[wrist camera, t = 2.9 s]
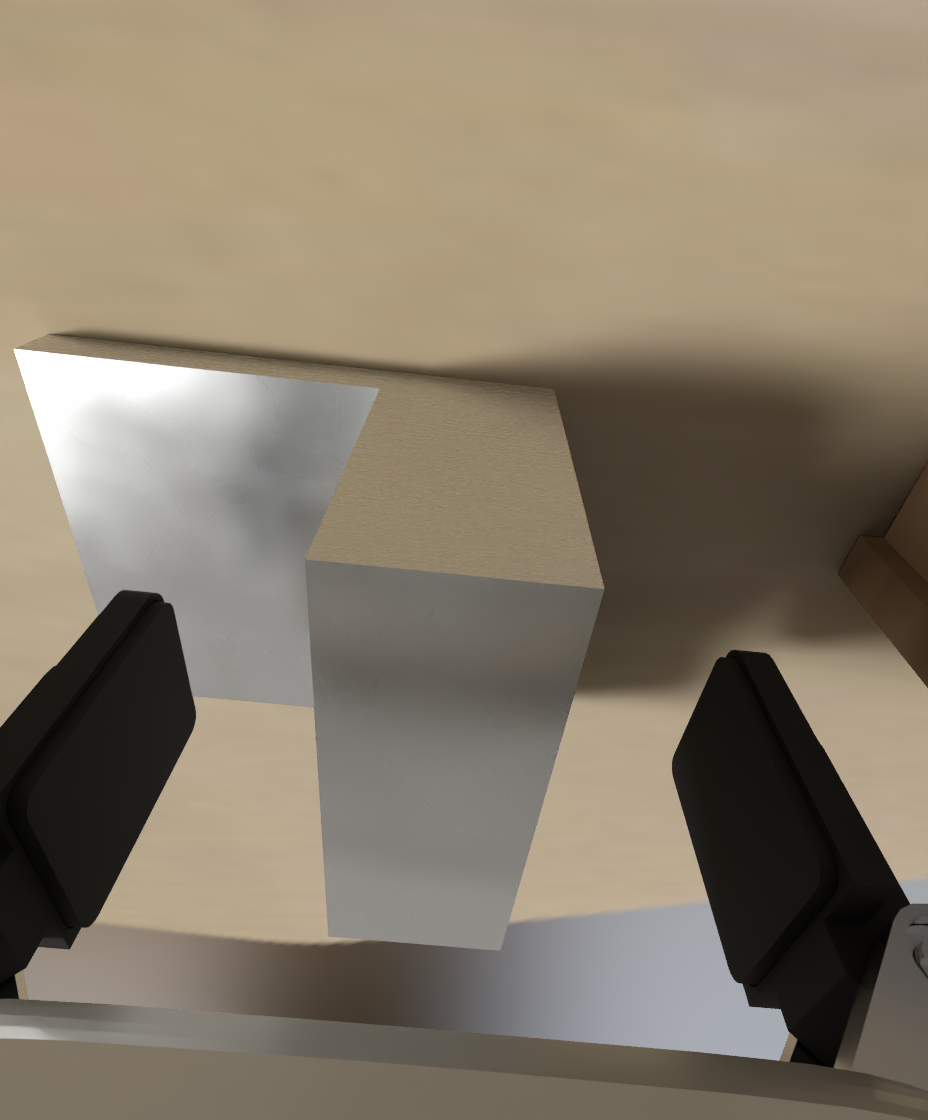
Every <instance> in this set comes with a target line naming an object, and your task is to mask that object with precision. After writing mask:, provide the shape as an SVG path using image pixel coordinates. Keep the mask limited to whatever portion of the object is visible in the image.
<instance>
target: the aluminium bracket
mask: <svg viewBox="0 0 928 1120" xmlns="http://www.w3.org/2000/svg"><path fill="white" fill-rule="evenodd" d="M14 351H15V354H16V357H17V361H18V364H19V367H20V370H21V373H22V376H23V379H24V383H25V386H26V389H27V392H28V395H29V398H30V401H31V405H32V408H33V411H34V414H35V417H36V420H37V423H38V427H39V430H40V433H41V436H42V439H43V442H44V445H45V449H46V452H47V455H48V458H49V461H50V464H51V467H52V471H53V474H54V477H55V480H56V483H57V486H58V489H59V493H60V496H61V499H62V502H63V505H64V508H65V511H66V515H67V518H68V521H69V524H70V527H71V530H72V533H73V537H74V540H75V543H76V546H77V549H78V552H79V555H80V559H81V562H82V565H83V568H84V571H85V574H86V577H87V581H88V584H89V587H90V590H91V593H92V596H93V599H94V603H95V606H96V609H97V612H98V615H99V614H100V613H101V612H102V611H103V610H104V608H105V607H106V606H107V605H108V604H109V602H110V601H111V600H112V599H113V598H114V596H115V595H116V594H117V593H119V592H120V591H122V590H132V591H142V592H152V593H158V594H160V595H161V596H162V597H163V599H164V602H166V603H171V605H172V606H173V609H174V613H175V617H176V622H177V626H178V631H179V636H180V640H181V645H182V650H183V654H184V659H185V663H186V668H187V673H188V677H189V682H190V687H191V691H192V696H198V697H208V698H219V699H230V700H240V701H251V702H262V703H272V704H283V705H294V706H305V707H314V714H315V730H316V746H317V762H318V778H319V793H320V809H321V825H322V841H323V857H324V873H325V889H326V905H327V921H328V936H332V937H344V938H356V939H368V940H379V941H392V942H403V943H415V944H427V945H440V946H452V947H464V948H475V949H488V950H499V951H500V950H501V946H502V943H503V939H504V936H505V932H506V929H507V926H508V922H509V919H510V915H511V912H512V908H513V905H514V901H515V898H516V894H517V891H518V887H519V884H520V881H521V877H522V874H523V870H524V867H525V863H526V860H527V856H528V853H529V849H530V846H531V842H532V839H533V836H534V832H535V829H536V825H537V822H538V818H539V815H540V811H541V808H542V804H543V801H544V797H545V794H546V791H547V787H548V784H549V780H550V777H551V773H552V770H553V766H554V763H555V759H556V756H557V752H558V749H559V746H560V742H561V739H562V735H563V732H564V728H565V725H566V721H567V718H568V714H569V711H570V707H571V704H572V701H573V697H574V694H575V690H576V687H577V683H578V680H579V676H580V673H581V669H582V666H583V663H584V659H585V656H586V652H587V649H588V645H589V642H590V638H591V635H592V631H593V628H594V624H595V621H596V618H597V614H598V611H599V607H600V604H601V600H602V597H603V593H604V590H605V588H604V584H603V580H602V577H601V573H600V569H599V565H598V561H597V557H596V553H595V549H594V545H593V541H592V537H591V533H590V529H589V525H588V521H587V517H586V513H585V509H584V505H583V501H582V498H581V494H580V490H579V486H578V482H577V478H576V474H575V470H574V466H573V462H572V458H571V454H570V450H569V446H568V442H567V438H566V434H565V430H564V426H563V422H562V418H561V415H560V411H559V407H558V403H557V399H556V395H555V391H554V389H550V388H540V387H531V386H522V385H513V384H503V383H494V382H485V381H476V380H467V379H457V378H448V377H439V376H430V375H420V374H411V373H402V372H393V371H383V370H374V369H365V368H356V367H346V366H337V365H328V364H319V363H310V362H300V361H291V360H282V359H273V358H263V357H254V356H245V355H236V354H226V353H217V352H208V351H199V350H190V349H180V348H171V347H162V346H153V345H143V344H134V343H125V342H116V341H106V340H97V339H88V338H79V337H70V336H60V335H51V334H47V335H45V336H42V337H40V338H38V339H36V340H33V341H31V342H29V343H27V344H24V345H22V346H20V347H18V348H15V349H14Z"/></svg>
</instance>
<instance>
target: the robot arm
mask: <svg viewBox="0 0 928 1120" xmlns="http://www.w3.org/2000/svg"><path fill="white" fill-rule="evenodd" d="M195 719H196V710H195V705H194V701H193V696H192V691H191V687H190V682H189V677H188V673H187V668H186V663H185V659H184V654H183V650H182V645H181V640H180V636H179V631H178V626H177V622H176V617H175V613H174V609H173V606H172V605H171V603H166V602H164V599H163V597H162V596H161V595H160V594H158V593H152V592H142V591H132V590H122V591H120V592H119V593H117V594H116V595H115V596H114V598H113V599H112V600H111V601H110V602H109V604H108V605H107V606H106V607H105V608H104V610H103V611H102V612H101V613H100V614H99V615H98V617H97V618H96V619H95V620H94V621H93V623H92V624H91V625H90V626H89V627H88V629H87V630H86V631H85V632H84V633H83V635H82V636H81V637H80V638H79V639H78V640H77V642H76V643H75V644H74V645H73V646H72V648H71V649H70V650H69V651H68V652H67V654H66V655H65V656H64V657H63V658H62V660H61V661H60V662H59V663H58V664H57V665H56V666H54V667H53V668H52V669H51V670H49V671H48V672H47V673H46V674H45V675H44V676H43V678H42V679H41V680H40V681H39V682H38V684H37V685H36V686H35V687H34V688H33V689H32V691H31V692H30V693H29V694H28V695H27V697H26V698H25V699H24V700H23V701H22V702H21V704H20V705H19V706H18V707H17V708H16V710H15V711H14V712H13V713H12V714H11V715H10V717H9V718H8V719H7V720H6V721H5V722H4V724H3V725H2V726H1V727H0V1120H928V904H910V903H909V901H908V899H907V898H906V896H905V894H904V892H903V890H902V888H901V887H900V885H899V883H898V881H897V879H896V878H895V876H894V874H893V872H892V870H891V869H890V867H889V865H888V863H887V861H886V860H885V858H884V856H883V854H882V852H881V851H880V849H879V847H878V845H877V843H876V842H875V840H874V838H873V836H872V835H871V833H870V831H869V829H868V827H867V826H866V824H865V822H864V820H863V818H862V817H861V815H860V813H859V811H858V809H857V808H856V806H855V804H854V802H853V800H852V799H851V797H850V795H849V793H848V791H847V790H846V788H845V786H844V784H843V782H842V781H841V779H840V777H839V775H838V773H837V772H836V770H835V768H834V766H833V764H832V763H831V761H830V759H829V757H828V755H827V754H826V752H825V750H824V748H823V747H822V745H821V744H820V743H819V741H818V740H817V738H816V736H815V734H814V733H813V731H812V729H811V727H810V725H809V724H808V722H807V720H806V718H805V716H804V715H803V713H802V711H801V709H800V707H799V706H798V704H797V702H796V700H795V698H794V697H793V695H792V693H791V691H790V689H789V687H788V686H787V684H786V682H785V680H784V678H783V677H782V675H781V673H780V671H779V669H778V668H777V666H776V664H775V662H774V660H773V659H772V658H771V656H770V655H768V654H767V653H760V652H750V651H740V650H731V651H730V652H729V653H728V654H727V656H726V657H720V658H719V659H717V661H716V663H715V665H714V667H713V669H712V671H711V674H710V676H709V678H708V680H707V683H706V685H705V687H704V689H703V691H702V694H701V696H700V698H699V700H698V703H697V705H696V707H695V709H694V711H693V714H692V716H691V718H690V720H689V723H688V725H687V727H686V729H685V732H684V734H683V736H682V738H681V740H680V743H679V745H678V747H677V749H676V752H675V754H674V757H673V761H672V774H673V778H674V782H675V785H676V789H677V792H678V796H679V799H680V802H681V806H682V809H683V813H684V816H685V820H686V823H687V826H688V830H689V833H690V837H691V840H692V844H693V847H694V851H695V854H696V857H697V861H698V864H699V868H700V871H701V875H702V878H703V881H704V885H705V888H706V892H707V895H708V899H709V902H710V905H711V909H712V912H713V916H714V919H715V923H716V926H717V930H718V933H719V936H720V940H721V943H722V946H723V950H724V954H725V957H726V960H727V964H728V967H729V970H730V973H731V975H732V977H733V978H734V980H735V981H736V982H737V983H743V986H744V990H745V993H746V996H747V999H748V1003H749V1006H750V1007H762V1008H775V1009H781V1011H782V1014H783V1017H784V1020H785V1023H786V1026H787V1029H788V1031H789V1032H790V1034H789V1036H788V1039H787V1041H786V1044H785V1047H784V1050H783V1053H782V1055H781V1058H780V1060H779V1061H776V1060H766V1059H757V1058H747V1057H738V1056H729V1055H720V1054H710V1053H701V1052H690V1051H678V1050H667V1049H654V1048H643V1047H632V1046H621V1045H609V1044H598V1043H586V1042H574V1041H562V1040H551V1039H539V1038H528V1037H517V1036H505V1035H493V1034H481V1033H468V1032H455V1031H444V1030H432V1029H420V1028H408V1027H395V1026H383V1025H371V1024H359V1023H346V1022H333V1021H322V1020H309V1019H295V1018H283V1017H270V1016H257V1015H243V1014H230V1013H218V1012H205V1011H204V1012H203V1011H192V1010H179V1009H165V1008H152V1007H140V1006H127V1005H109V1004H92V1003H74V1002H57V1001H40V1000H29V998H28V993H27V987H26V982H25V977H24V971H23V970H24V969H25V968H26V967H27V965H28V963H29V962H30V960H31V958H32V956H33V955H34V953H35V951H36V949H37V948H38V947H47V948H60V949H70V948H71V946H72V944H73V942H74V940H75V938H76V937H77V934H78V933H79V931H80V929H81V927H83V928H86V927H89V926H90V925H91V924H92V923H93V922H94V921H95V920H96V918H97V916H98V915H99V913H100V911H101V909H102V907H103V905H104V903H105V901H106V899H107V897H108V895H109V893H110V891H111V889H112V888H113V886H114V884H115V882H116V880H117V878H118V876H119V874H120V872H121V870H122V868H123V866H124V864H125V862H126V860H127V858H128V856H129V854H130V852H131V850H132V848H133V846H134V845H135V843H136V841H137V839H138V837H139V835H140V833H141V831H142V829H143V827H144V825H145V823H146V821H147V819H148V817H149V815H150V813H151V811H152V809H153V807H154V805H155V803H156V801H157V800H158V798H159V796H160V794H161V792H162V790H163V788H164V786H165V784H166V782H167V780H168V778H169V776H170V774H171V772H172V770H173V768H174V766H175V764H176V762H177V760H178V758H179V757H180V755H181V753H182V751H183V749H184V747H185V745H186V743H187V741H188V739H189V737H190V735H191V733H192V731H193V728H194V724H195Z"/></svg>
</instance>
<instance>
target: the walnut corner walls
mask: <svg viewBox="0 0 928 1120" xmlns="http://www.w3.org/2000/svg"><path fill="white" fill-rule="evenodd" d="M838 575H839V577H840V578H841V579H842V580H843V582H844V583H845V584H846V586H847V587H848V588H849V589H850V591H851V592H852V593H853V594H854V596H855V597H856V598H857V599H858V601H859V602H860V603H861V604H862V606H863V607H864V608H865V609H866V611H867V612H868V613H869V614H870V616H871V617H872V618H873V620H874V621H875V622H876V623H877V625H878V626H879V627H880V628H881V630H882V631H883V632H884V633H885V635H886V636H887V637H888V638H889V640H890V641H891V642H892V643H893V645H894V646H895V647H896V648H897V650H898V651H899V652H900V654H901V655H902V656H903V657H904V659H905V660H906V661H907V662H908V664H909V665H910V666H911V667H912V669H913V670H914V671H915V672H916V674H917V675H918V676H919V677H920V679H921V680H922V681H923V682H924V684H925V685H926V686H927V688H928V463H927V465H926V467H925V468H924V470H923V472H922V473H921V475H920V477H919V479H918V480H917V482H916V484H915V485H914V487H913V489H912V491H911V492H910V494H909V496H908V497H907V499H906V501H905V503H904V504H903V506H902V508H901V509H900V511H899V513H898V515H897V516H896V518H895V520H894V521H893V523H892V525H891V527H890V528H889V530H888V532H887V533H886V535H885V537H884V538H880V537H871V536H861V535H860V536H859V538H858V540H857V542H856V543H855V545H854V547H853V549H852V551H851V552H850V554H849V556H848V558H847V560H846V561H845V563H844V565H843V567H842V569H841V570H840V572H839V574H838Z"/></svg>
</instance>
